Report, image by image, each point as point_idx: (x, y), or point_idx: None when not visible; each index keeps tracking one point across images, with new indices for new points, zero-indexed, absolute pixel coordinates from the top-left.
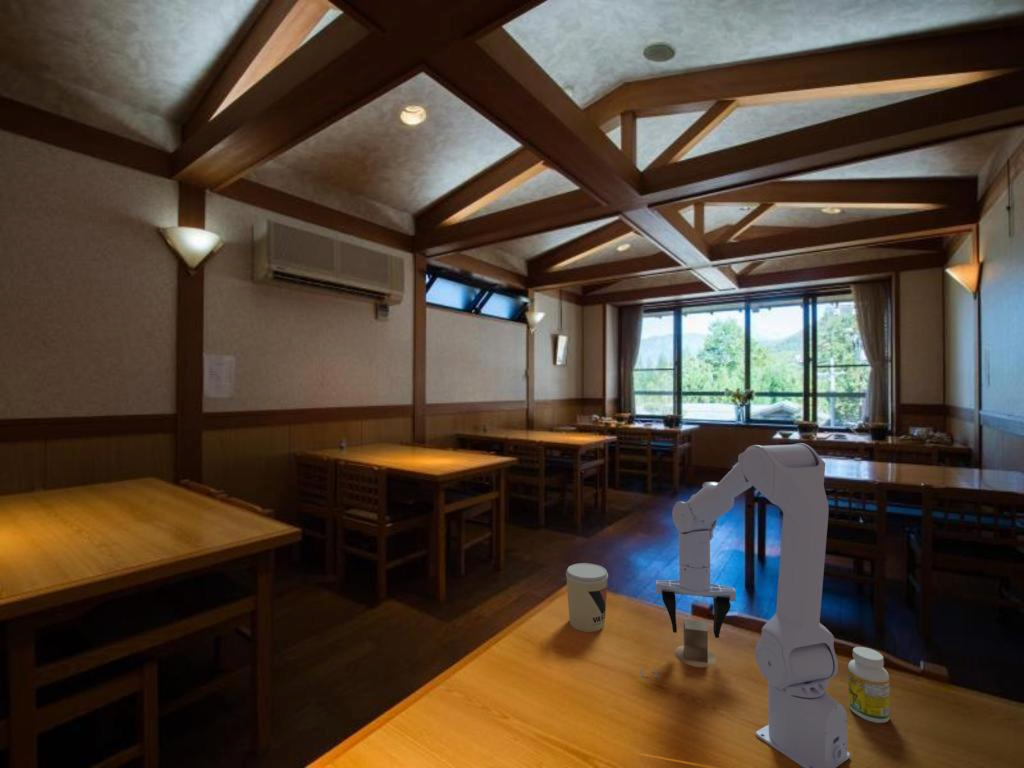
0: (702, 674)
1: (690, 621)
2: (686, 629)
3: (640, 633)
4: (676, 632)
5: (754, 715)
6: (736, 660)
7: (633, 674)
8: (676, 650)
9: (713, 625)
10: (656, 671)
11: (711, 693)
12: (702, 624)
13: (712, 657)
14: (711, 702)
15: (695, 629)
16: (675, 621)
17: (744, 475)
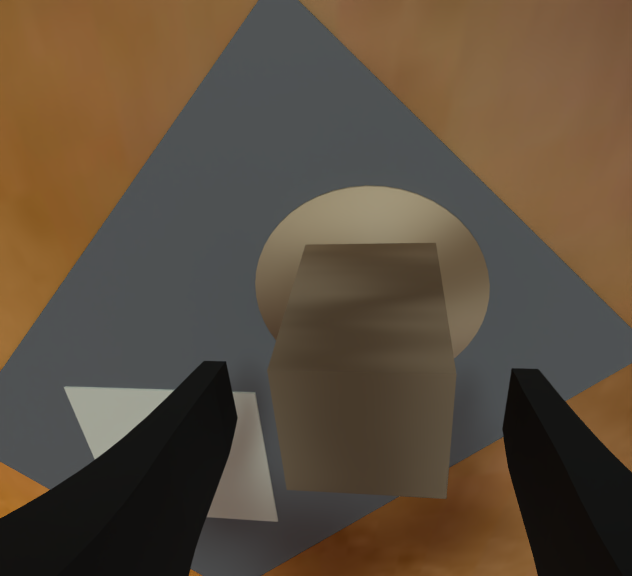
0: None
1: (326, 396)
2: (295, 486)
3: (12, 103)
4: (235, 419)
5: (536, 572)
6: (619, 271)
7: None
8: (264, 271)
9: (524, 398)
10: None
11: (409, 508)
12: (424, 421)
13: (470, 292)
14: (401, 542)
15: (358, 491)
16: (206, 505)
17: None
